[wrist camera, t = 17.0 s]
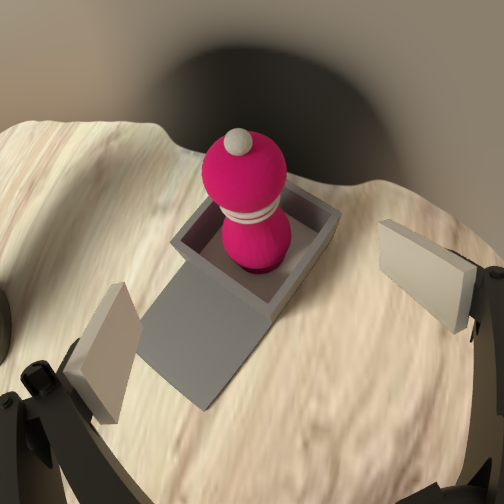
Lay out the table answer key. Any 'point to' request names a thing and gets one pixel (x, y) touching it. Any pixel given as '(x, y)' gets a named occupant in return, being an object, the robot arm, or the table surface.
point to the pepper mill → (249, 198)
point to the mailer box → (226, 297)
